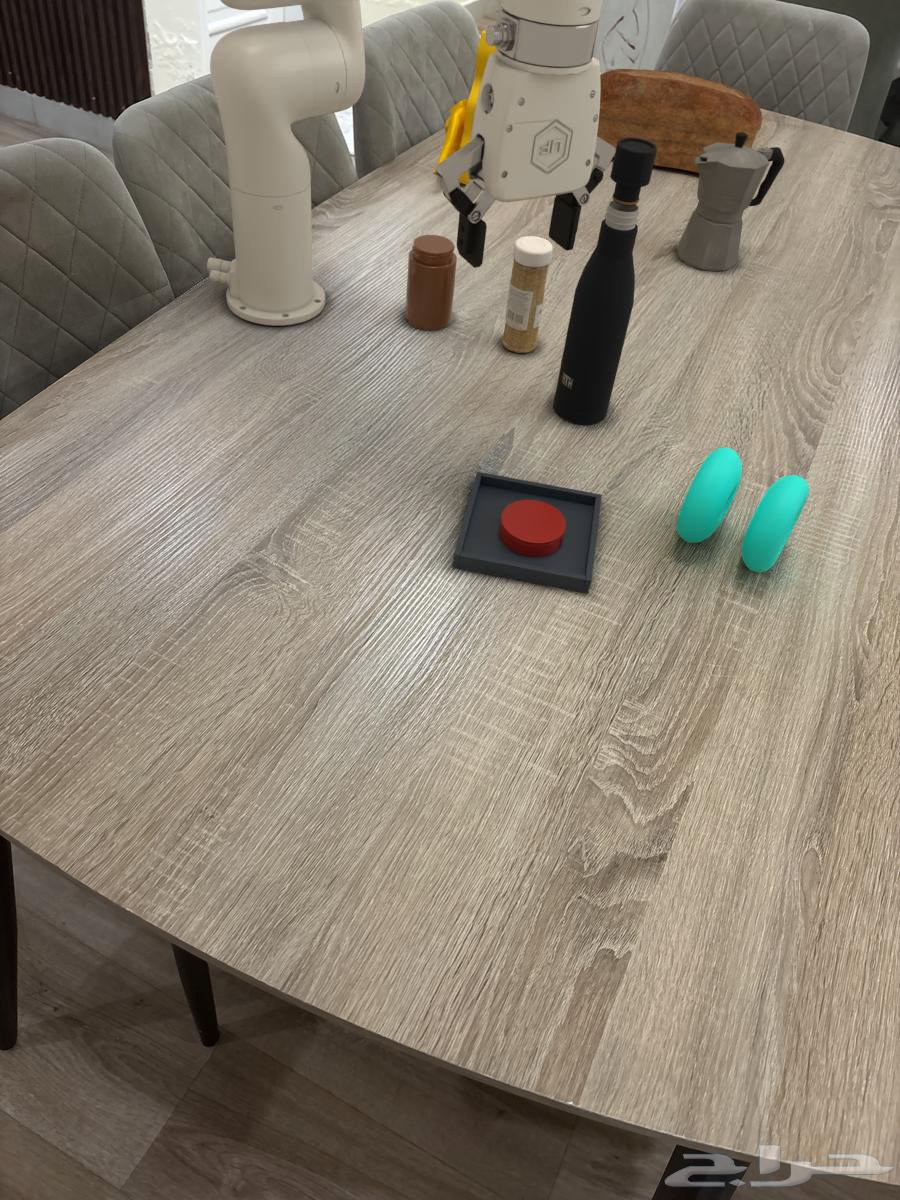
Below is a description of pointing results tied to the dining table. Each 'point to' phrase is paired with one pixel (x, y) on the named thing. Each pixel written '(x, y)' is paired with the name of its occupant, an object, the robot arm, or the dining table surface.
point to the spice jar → (526, 293)
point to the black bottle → (604, 295)
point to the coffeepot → (725, 201)
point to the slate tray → (491, 556)
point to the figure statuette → (465, 110)
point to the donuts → (714, 500)
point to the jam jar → (430, 282)
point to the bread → (674, 113)
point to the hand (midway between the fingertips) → (515, 251)
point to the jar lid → (532, 528)
